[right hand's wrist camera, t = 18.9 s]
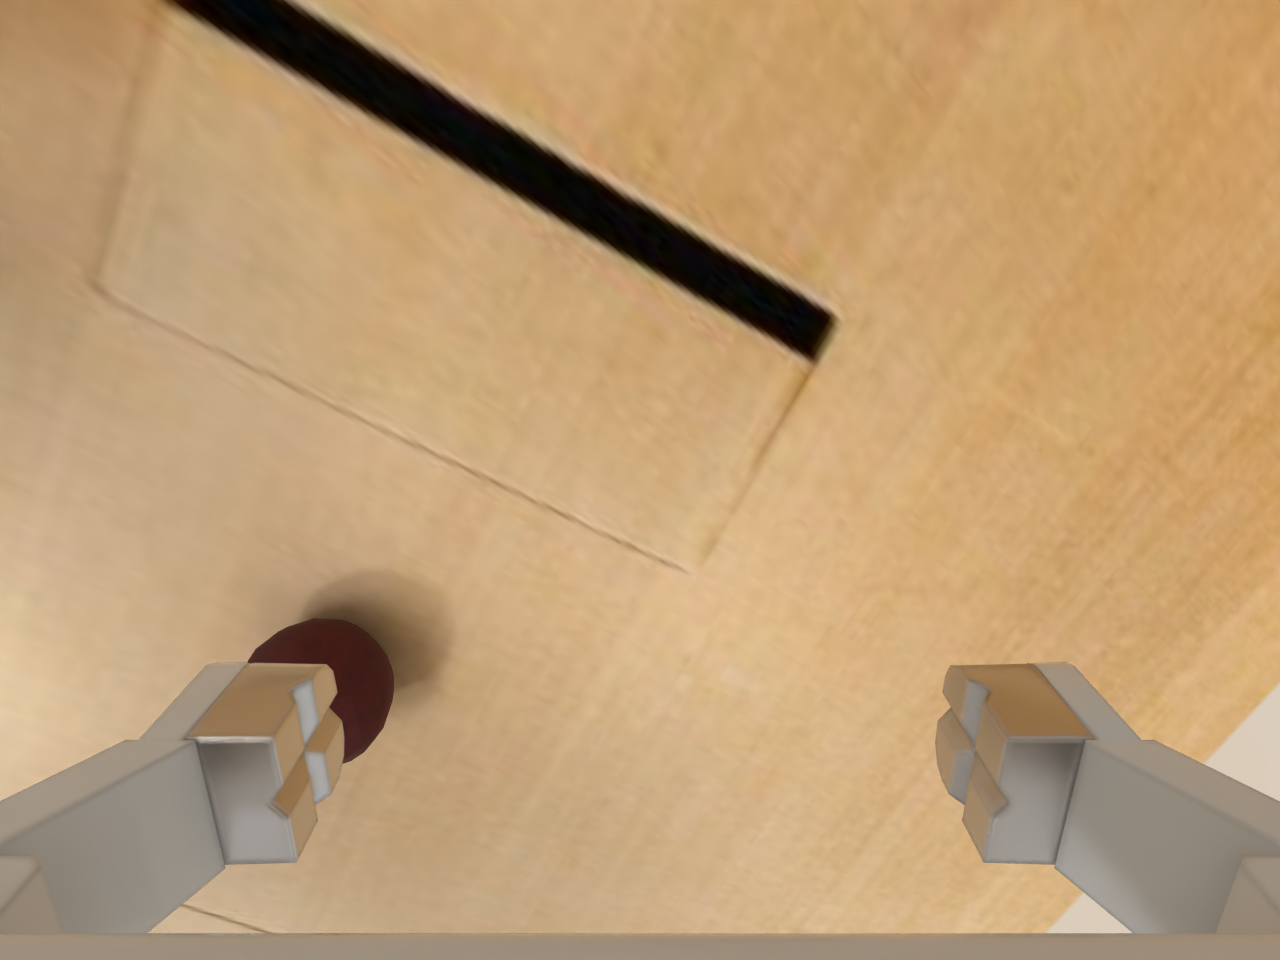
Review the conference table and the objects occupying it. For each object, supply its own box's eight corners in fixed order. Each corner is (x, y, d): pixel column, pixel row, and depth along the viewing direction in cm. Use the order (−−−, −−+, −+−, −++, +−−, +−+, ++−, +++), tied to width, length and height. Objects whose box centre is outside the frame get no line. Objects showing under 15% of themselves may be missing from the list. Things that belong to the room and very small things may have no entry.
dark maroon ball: (416, 708, 45) (378, 798, 39) (281, 710, 45) (220, 801, 39) (400, 594, 43) (356, 670, 36) (256, 597, 43) (187, 673, 36)
